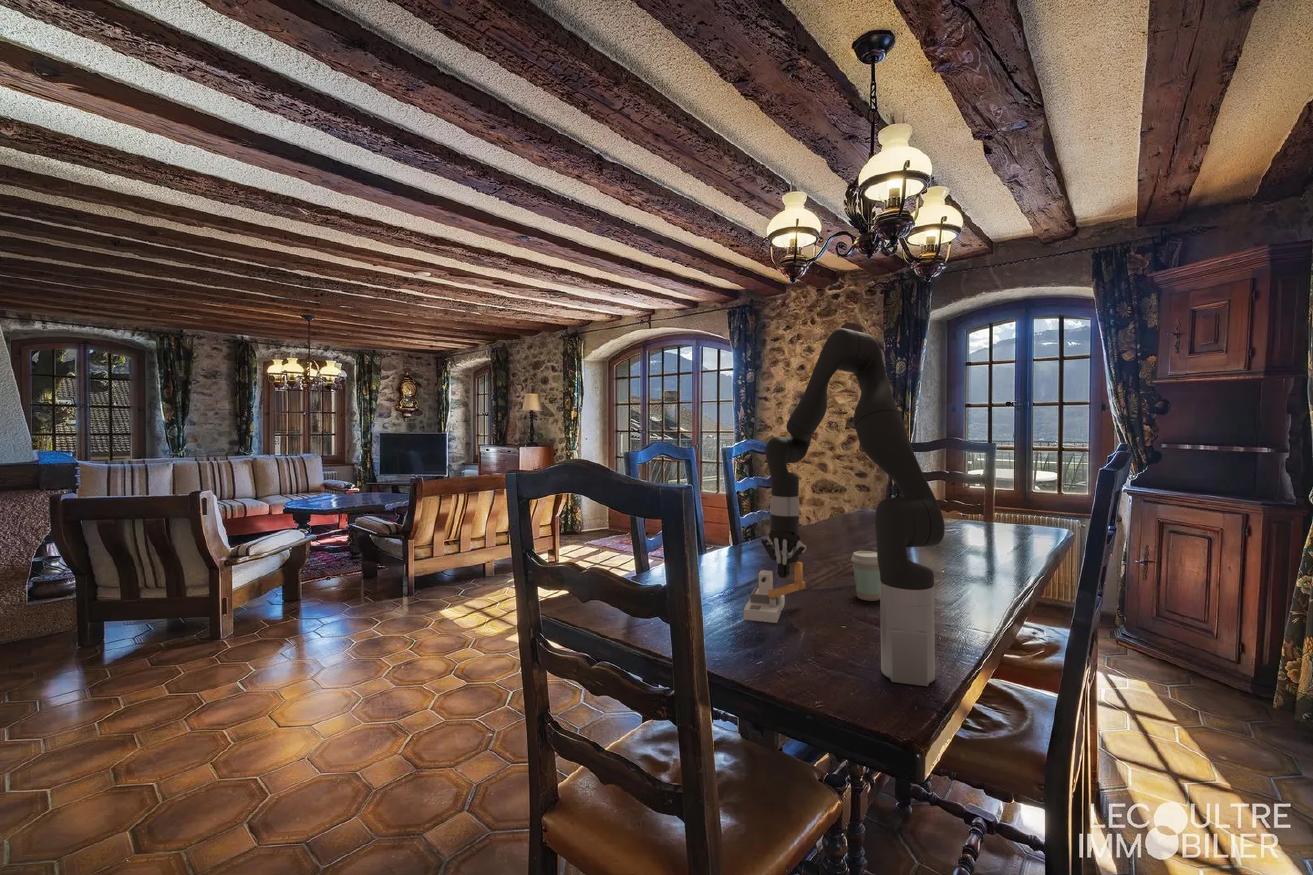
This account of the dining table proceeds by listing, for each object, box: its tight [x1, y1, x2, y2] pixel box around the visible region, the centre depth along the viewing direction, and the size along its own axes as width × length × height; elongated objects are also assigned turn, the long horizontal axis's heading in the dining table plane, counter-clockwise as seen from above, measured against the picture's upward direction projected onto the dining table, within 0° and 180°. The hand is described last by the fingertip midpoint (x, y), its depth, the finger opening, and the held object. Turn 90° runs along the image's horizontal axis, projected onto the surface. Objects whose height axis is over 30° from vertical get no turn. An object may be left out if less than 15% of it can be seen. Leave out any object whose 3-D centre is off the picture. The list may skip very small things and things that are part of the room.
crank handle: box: [769, 561, 806, 598], centre depth 140 cm, size 14×2×7 cm, turn 129°
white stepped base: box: [743, 586, 786, 624], centre depth 140 cm, size 15×8×4 cm, turn 160°
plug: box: [755, 569, 774, 595], centre depth 141 cm, size 6×5×7 cm
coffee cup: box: [850, 550, 880, 602], centre depth 150 cm, size 8×8×12 cm
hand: (783, 577), depth 145 cm, fingers closed
